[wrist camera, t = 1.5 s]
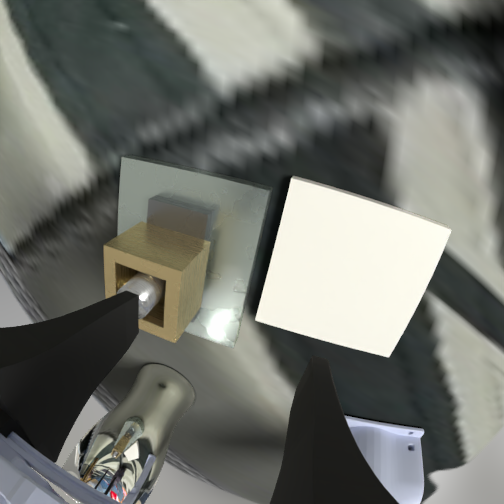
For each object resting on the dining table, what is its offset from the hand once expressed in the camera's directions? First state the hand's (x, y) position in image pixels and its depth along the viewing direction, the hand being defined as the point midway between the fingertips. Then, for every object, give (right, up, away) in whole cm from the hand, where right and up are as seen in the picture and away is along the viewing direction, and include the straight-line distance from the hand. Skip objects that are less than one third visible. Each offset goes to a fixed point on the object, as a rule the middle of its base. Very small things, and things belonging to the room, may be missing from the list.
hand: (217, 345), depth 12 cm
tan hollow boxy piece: (-4, +3, +8) cm, 10 cm away
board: (+7, +2, +8) cm, 11 cm away
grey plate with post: (-3, +4, +10) cm, 11 cm away
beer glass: (-7, -9, +17) cm, 20 cm away
